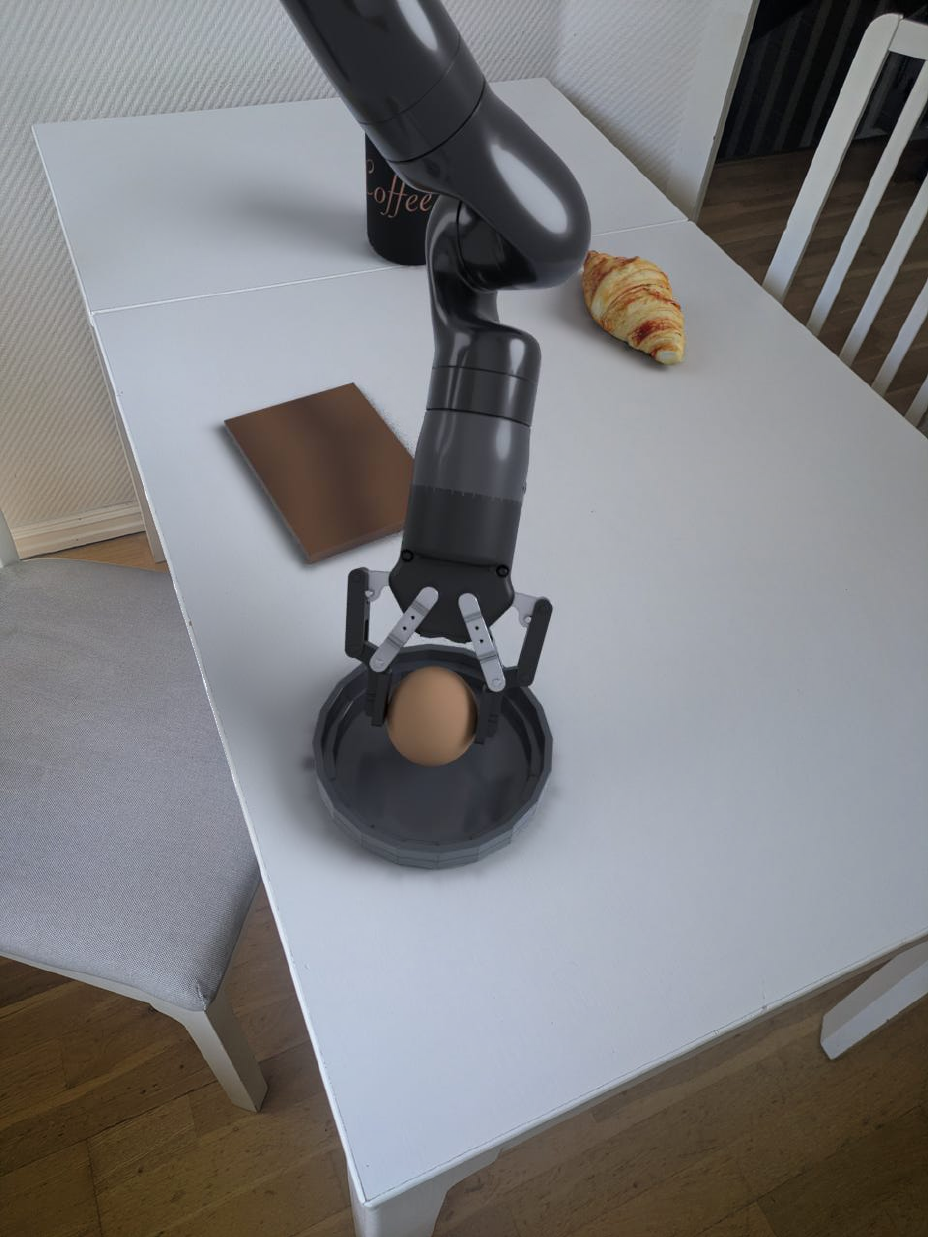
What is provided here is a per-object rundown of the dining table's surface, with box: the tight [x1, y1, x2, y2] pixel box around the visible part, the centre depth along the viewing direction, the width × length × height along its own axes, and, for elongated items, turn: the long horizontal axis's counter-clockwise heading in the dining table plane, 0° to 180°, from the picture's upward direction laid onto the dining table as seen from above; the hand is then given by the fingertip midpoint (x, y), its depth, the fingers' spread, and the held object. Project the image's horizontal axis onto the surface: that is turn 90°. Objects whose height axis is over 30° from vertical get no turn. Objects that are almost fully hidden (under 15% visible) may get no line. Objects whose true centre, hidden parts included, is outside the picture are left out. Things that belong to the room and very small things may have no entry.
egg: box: [386, 666, 478, 766], centre depth 63 cm, size 6×6×8 cm
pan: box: [311, 643, 554, 870], centre depth 66 cm, size 17×17×3 cm
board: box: [223, 381, 414, 565], centre depth 86 cm, size 14×20×1 cm
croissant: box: [581, 249, 687, 366], centre depth 103 cm, size 21×10×8 cm, turn 24°
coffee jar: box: [364, 132, 440, 266], centre depth 106 cm, size 11×11×18 cm
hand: (429, 732), depth 62 cm, fingers closed on egg, 6 cm apart
